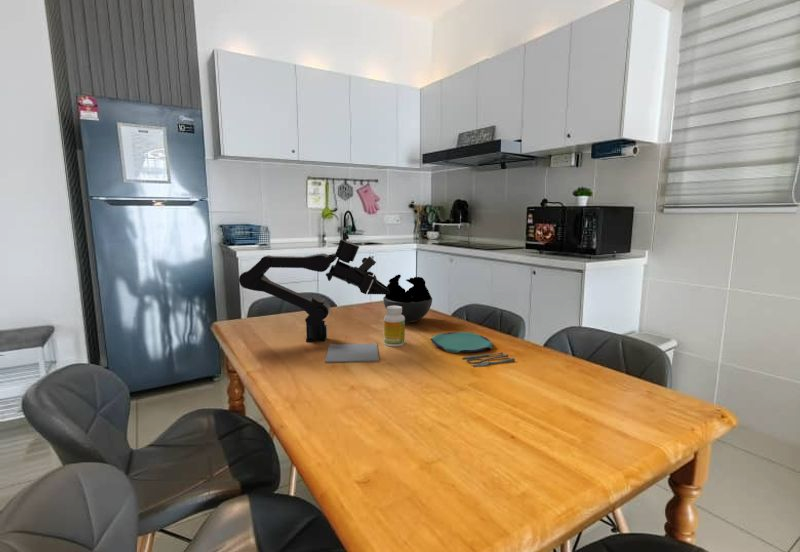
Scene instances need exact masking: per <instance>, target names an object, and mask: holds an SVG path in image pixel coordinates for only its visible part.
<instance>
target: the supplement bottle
mask: <svg viewBox="0 0 800 552" xmlns="http://www.w3.org/2000/svg"><path fill="white" fill-rule="evenodd" d="M385 310H386V309H385ZM386 313H387V314H385V315H384V316H383V344H384V345H385V346H387V347H395V348H396V347H402V346H404V344H405V335H406V333H405V332H406V330H405V325H406V322H405V317H404V316H403V315H402V314H401V313H402V307H401V306H388V307H387V310H386Z"/></svg>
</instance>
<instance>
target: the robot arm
mask: <svg viewBox="0 0 800 552" xmlns="http://www.w3.org/2000/svg"><path fill="white" fill-rule="evenodd" d="M359 249H360V246H359V245H358V244H357V243H356V244H355V243H354V242H351V241H347V240H344V239H340V241H339V243H338V247H337V248H336V251H335V252H334V253H332V254H327V253H317V254H311V255H305V256H294V255H293V256H289V255H288V256H285V255H282V256H281V255H280V256H279V255H277V256H276V255H270V254H269V255H265V256H263V257H261V258H260V260H259V261H258V262H257V263H256V264H254V265H253V266H252V267H251V268H250V269H249V270H246V271H244V272H242V273H241V274H240V276H239V278H238V282H239V286H241V287H242V288H244V289H247V290H252V291H256V292H263V293H266V294H268V295H271V296H273V297H275V298H277V299H280V300H282V301H284V302H286V303H289V304H291V305H293V306H295V307H297V308H300V309H301V310H303V311H304V312H305V313H306V314H307V317H305V319H304V321H305V326H306V328H305V329H306V339H305V342H307V343H308V342H309V343H310V342H325V341H326V339H327V338H328V325H327V324H326V320H325V319H326V318H327V317H328V315H329V314H330V312H331V304H330V302H329V301H327V299H326V298H324V297H320V295H317V294H314V295H313V297H309V296H306V295H303V294H302V293H300V292H297V291H294V290H292V289H290V288H287V287H285V286H283V285H281V284H279V283H276V282H274V281H272V280H270V279H269V277H267V276H266V275H265V274H266V273H267V272H268V271H269V269H271V268H277V269H278V268H279V269H280V268H281V269H283V268H284V269H288V268H289V269H305V270H309V271H313V272H319V273H323V272H325V271H327V270H328V269H329V268H330V269H329V271H328V272H326V273H325V276H326V278H327V281H329V282H330V281H331V280H332V278H336V279H339V280H341V281H342V282H343V281H344V282H345V283H347V284H348V285H353V286H354V287H357V288H358V289H359V292H360V293H362V294H364V295H385V294H387V295H389V294H390V291H389V288H388V287H387V285H385V284H384V283H382V282H381V281H380V280H378V279H377V276H376V274H374V273H375V272H372V271H370V269H371V268H372V267H373V266H375V264H376V263H377V261H376V260H374V259H373V257H372V256H368V257H363V258H362V259H361V262H362V264H361V265H360V266H359V267H357V266H352V265H349V264H350V262H354V261H355V258H356V255H357V254H358V251H359ZM336 260H337V261H336ZM335 261H336V262H335ZM334 262H335V264H332V263H334Z"/></svg>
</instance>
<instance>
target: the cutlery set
mask: <svg viewBox="0 0 800 552" xmlns="http://www.w3.org/2000/svg"><path fill="white" fill-rule="evenodd" d="M430 340H431V342H432V343H433V345H434V346H436V347H438V348H439V349H443V350H445V351H446V353H447V352H448V353H454V354H458V353H476V352H482V351H484V350H486V349H490V350H492V349H493V348H494V343H493V342H492V341H491V340H490V339H488V338H487V337H485V336H483V335H480V334H478V333H475V332H467V331H457V332H454V331H453V332H444V333H437V334H435V335H433V336H432V337H430ZM493 355H494V356H493ZM489 356H492V357H489ZM485 357H487V358H485ZM483 358H485V359H483ZM502 358H507V359H504V360H499V361H490V360H494V359H502ZM461 360H466V362H467V363H469V364H471V367H473V368H481V367H482V368H483V367H489V366H491V365H499V364H507V363H511V362H513V361H514V362H515V358H514V357H513V358H509V354H507V353H506V354H504V352H497V353H482V354H479V355H469V356H463V357H461ZM472 361H475V362H472Z"/></svg>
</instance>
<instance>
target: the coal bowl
mask: <svg viewBox="0 0 800 552" xmlns="http://www.w3.org/2000/svg"><path fill="white" fill-rule="evenodd" d="M401 277H402V275H401V274H396V275H394V276H393V277H392V278H390V279H389V280H388V284H387V285H386V286H387V287H388V288H389V291H390V294H389V295H387V294H384V296H383V300H382V301H383V304H384V305H383V306H384V307H385V308H384V309H385V310H387V307H388V306H401V307H402V313H401V314H402V315H403V316H404V317H405V323H413V322H417V321H419V320H422V319H423V318H424V317H425V316H427V314H428V312H429V311H430V309H431V307H432V304H433V297H432V295H431V293H430V291H429V289H428V288H427V286H426V281H425V279H424V278H423V277H421V276H414V277H409V279H405V281H406V282H408V283H409V284H412V286H411V287H410V288H409V289H408V290H406V289H405V288H404V287H402V286H401V285H400V284H399V283H400V282H399V281H400V279H401Z"/></svg>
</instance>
